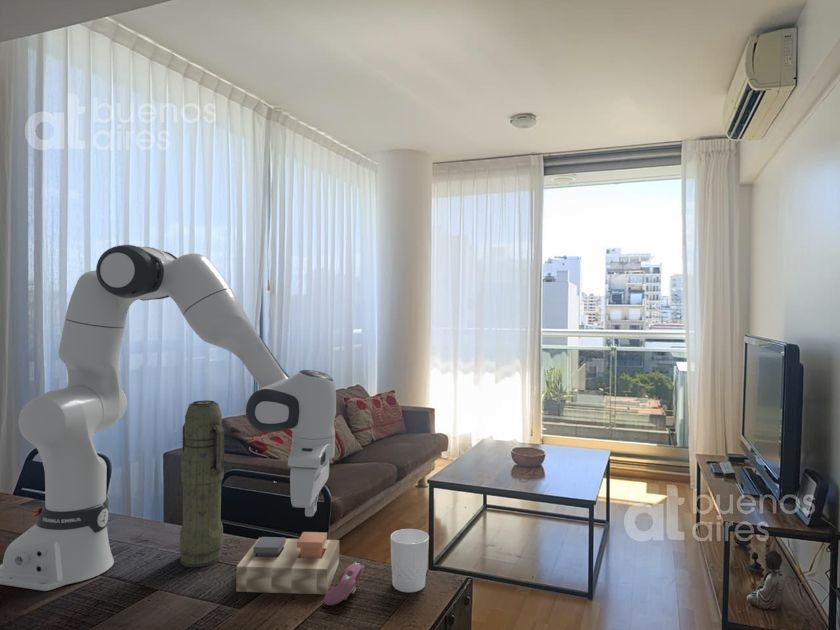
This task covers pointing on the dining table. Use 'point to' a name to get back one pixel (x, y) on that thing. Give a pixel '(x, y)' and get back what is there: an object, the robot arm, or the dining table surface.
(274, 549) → the charcoal plug
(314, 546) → the terracotta plug
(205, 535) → the thermos
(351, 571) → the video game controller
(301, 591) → the socket block
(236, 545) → the dining table surface
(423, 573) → the white cup
